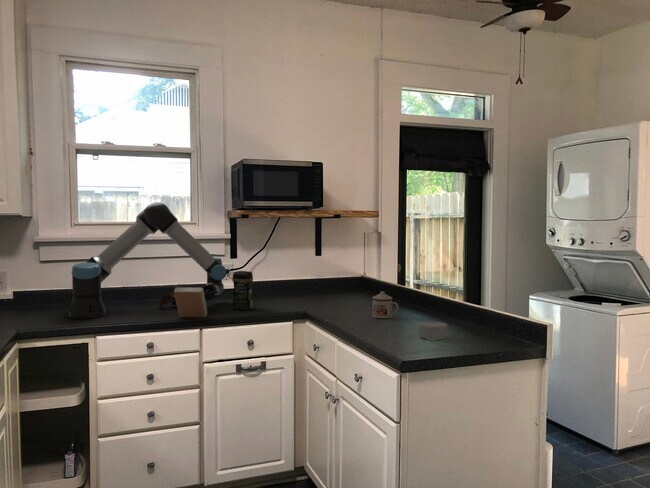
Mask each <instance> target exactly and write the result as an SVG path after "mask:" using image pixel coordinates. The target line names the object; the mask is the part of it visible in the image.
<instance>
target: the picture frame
mask: <svg viewBox="0 0 650 488" xmlns="http://www.w3.org/2000/svg"><path fill="white" fill-rule="evenodd" d="M173 294H175V299H176V303H177V304H176V307H177V312H178V317H179V318H206V317H207V315H208V307H207V303H206V300H205V296H204V290H203V288H202V287H186V286H185V287H178V286H177V287H175V288H174V291H173Z"/></svg>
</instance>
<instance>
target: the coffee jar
mask: <svg viewBox="0 0 650 488" xmlns="http://www.w3.org/2000/svg"><path fill="white" fill-rule="evenodd" d="M231 280H232V283H233V295H232V296H233V297H232V309H233V310H237V311H239V310H240V311H247V310H249V309H250V310H252V309H253V307H254V302H253V300H254V299H253V287H252V286H253V281H254V276H253V272H252V271H248V270H236V271H233V272H232V279H231Z"/></svg>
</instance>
